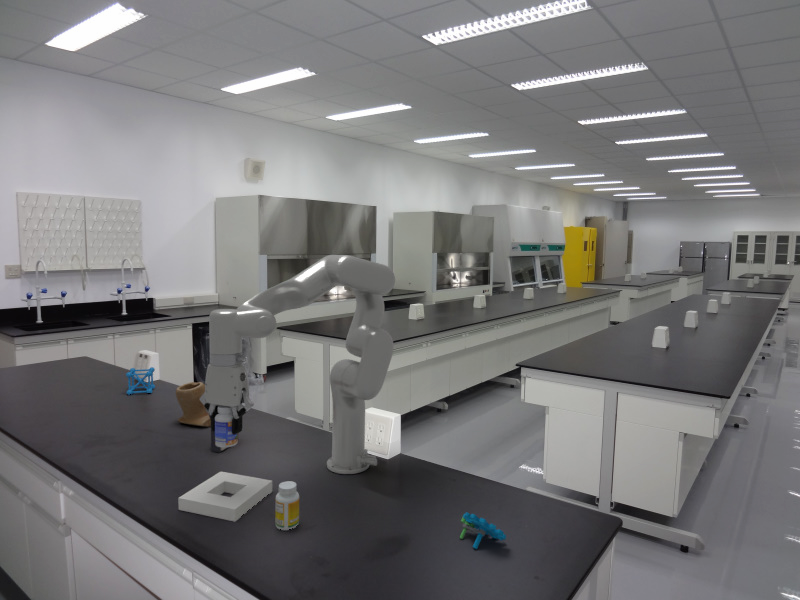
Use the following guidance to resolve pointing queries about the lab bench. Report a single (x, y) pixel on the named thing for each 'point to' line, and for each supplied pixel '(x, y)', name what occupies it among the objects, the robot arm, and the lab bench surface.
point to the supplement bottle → (287, 506)
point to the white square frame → (229, 508)
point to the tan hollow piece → (192, 404)
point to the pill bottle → (224, 428)
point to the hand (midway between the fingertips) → (226, 430)
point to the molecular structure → (140, 380)
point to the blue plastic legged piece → (480, 528)
